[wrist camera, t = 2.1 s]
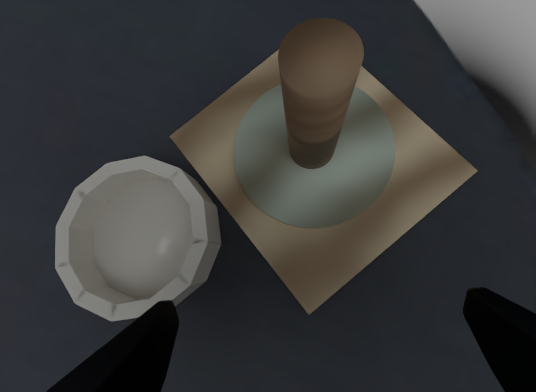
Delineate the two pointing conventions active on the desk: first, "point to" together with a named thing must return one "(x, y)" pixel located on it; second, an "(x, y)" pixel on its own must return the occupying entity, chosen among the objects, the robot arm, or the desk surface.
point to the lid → (315, 133)
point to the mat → (335, 237)
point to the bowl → (136, 238)
